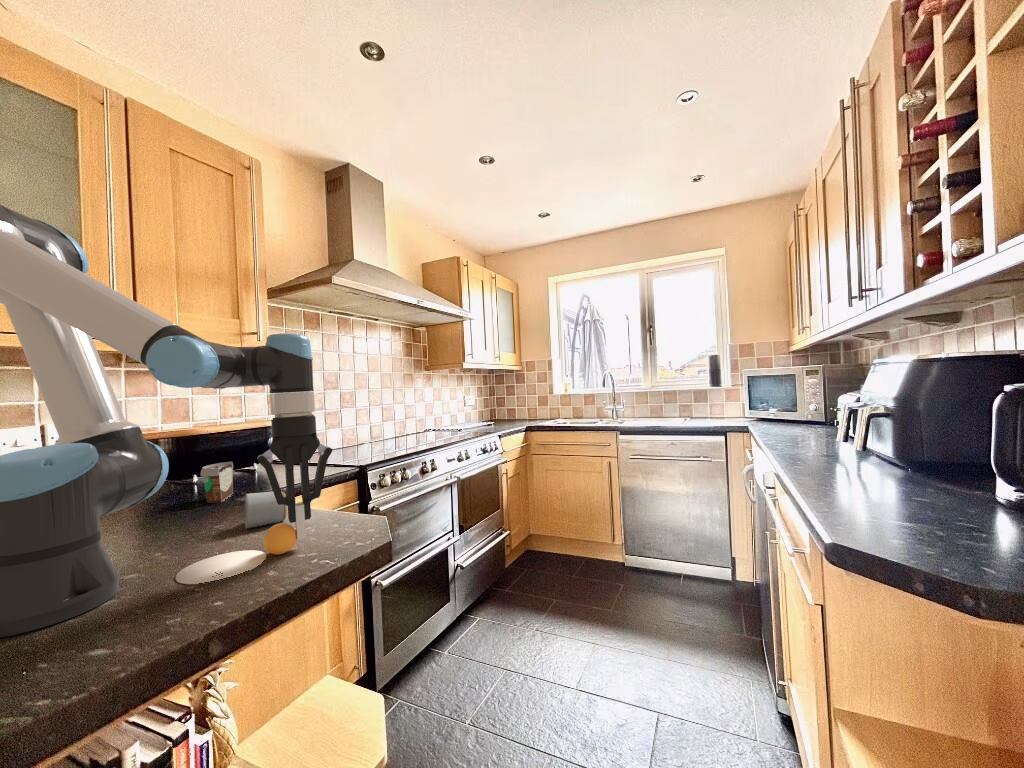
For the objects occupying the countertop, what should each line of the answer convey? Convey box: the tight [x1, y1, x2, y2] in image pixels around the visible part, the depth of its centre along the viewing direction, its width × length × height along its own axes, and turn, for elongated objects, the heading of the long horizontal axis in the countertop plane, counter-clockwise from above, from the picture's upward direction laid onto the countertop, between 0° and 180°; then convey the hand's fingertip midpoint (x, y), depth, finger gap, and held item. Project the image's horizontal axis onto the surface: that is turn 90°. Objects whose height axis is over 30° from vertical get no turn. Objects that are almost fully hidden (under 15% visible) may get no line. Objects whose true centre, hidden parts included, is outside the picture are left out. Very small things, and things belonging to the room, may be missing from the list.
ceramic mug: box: [244, 490, 288, 530], centre depth 97 cm, size 11×8×8 cm
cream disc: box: [175, 549, 267, 585], centre depth 73 cm, size 13×13×1 cm
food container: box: [199, 461, 234, 504], centre depth 121 cm, size 12×6×10 cm, turn 17°
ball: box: [262, 522, 297, 556], centre depth 77 cm, size 6×6×6 cm
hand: (300, 537), depth 79 cm, fingers closed
